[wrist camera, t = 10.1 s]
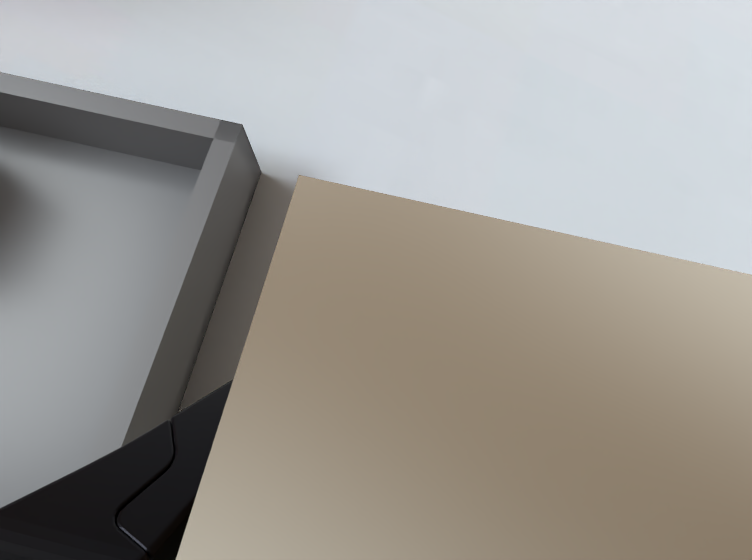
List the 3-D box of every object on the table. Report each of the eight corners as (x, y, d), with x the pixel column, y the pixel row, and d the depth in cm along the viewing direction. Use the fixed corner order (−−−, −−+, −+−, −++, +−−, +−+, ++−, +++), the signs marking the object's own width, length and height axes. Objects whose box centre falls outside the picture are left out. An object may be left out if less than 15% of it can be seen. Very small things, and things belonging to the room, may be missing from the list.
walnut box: (451, 539, 14) (905, 1111, 2) (306, 502, 14) (49, 865, 2) (475, 389, 15) (835, 276, 4) (343, 357, 15) (287, 156, 4)
